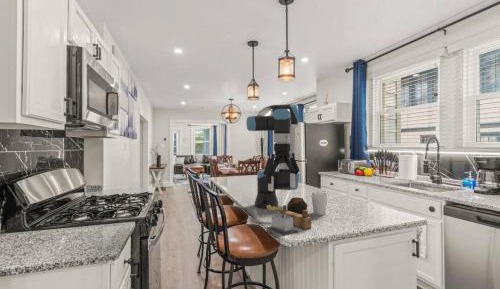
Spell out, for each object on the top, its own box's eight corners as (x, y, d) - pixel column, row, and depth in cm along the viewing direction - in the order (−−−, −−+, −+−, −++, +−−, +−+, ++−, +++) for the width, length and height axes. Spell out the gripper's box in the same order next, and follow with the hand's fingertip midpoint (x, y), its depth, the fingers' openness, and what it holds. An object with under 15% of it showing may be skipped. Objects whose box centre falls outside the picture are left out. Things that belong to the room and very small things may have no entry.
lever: (267, 208, 139) (267, 204, 139) (282, 209, 137) (282, 205, 137) (266, 209, 137) (266, 205, 137) (282, 210, 135) (282, 206, 135)
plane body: (279, 220, 136) (279, 205, 136) (284, 219, 138) (284, 203, 138) (305, 229, 121) (305, 212, 121) (311, 228, 124) (311, 211, 124)
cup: (326, 211, 154) (326, 191, 154) (329, 215, 145) (329, 193, 145) (310, 211, 155) (310, 190, 155) (312, 215, 146) (312, 193, 146)
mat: (267, 228, 124) (267, 227, 124) (279, 225, 128) (279, 224, 128) (284, 235, 114) (284, 234, 114) (297, 231, 118) (297, 230, 118)
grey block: (271, 227, 123) (271, 213, 123) (279, 225, 126) (279, 211, 126) (284, 232, 116) (284, 217, 116) (293, 230, 119) (293, 216, 119)
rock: (284, 212, 151) (284, 195, 151) (303, 212, 152) (303, 195, 152) (290, 219, 138) (290, 200, 138) (310, 219, 138) (310, 200, 138)
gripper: (266, 143, 110) (266, 193, 111) (306, 142, 125) (306, 187, 125) (255, 143, 117) (255, 190, 117) (295, 142, 131) (295, 184, 132)
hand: (282, 189), depth 121 cm, fingers open, 13 cm apart
